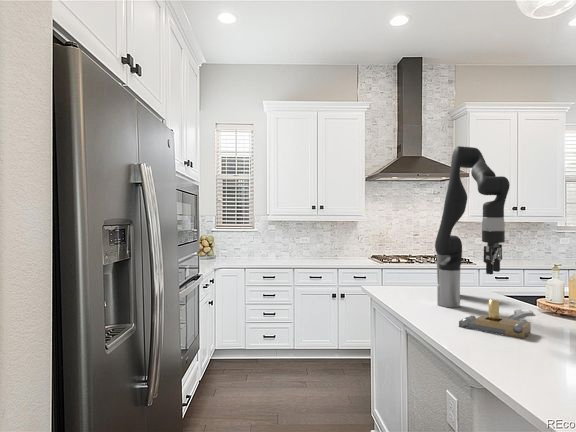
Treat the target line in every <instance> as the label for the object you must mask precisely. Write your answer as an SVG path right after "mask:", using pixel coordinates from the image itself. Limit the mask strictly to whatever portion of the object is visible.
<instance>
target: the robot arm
mask: <svg viewBox="0 0 576 432" xmlns="http://www.w3.org/2000/svg"><path fill="white" fill-rule="evenodd" d="M461 168H465V169H471V170H470V171H471V172H470V173H471V177H472V178H473V180H474V181H475V182H476V184H477V185H476V186H477V192H478V194H480V195H483V196H495V198H494V200H490V201H486V202H484V203H483V204H482V223H481V241H482V242H483V243H487V245H484V246H483V263H485V273H486V275H494V272H497V273H499V272H501V262H502V260H503V244H504V243H505V240H506V235H505V234H506V233H505V232H506V230H505V227H506V223H505V204H506V200H507V196H508V194H509V190H510V185H511V184H510V180H509V179H508V178H507V177H506V176H501V175H500V176H498V175H496V173H495V171H494V170H492V169H491V168H490V166H489V165H488V164H487V163H486V159H485V158H484V155H483V153H482V151H481V150H480V149H478V148H477V147H472V146H460V145H459V146H455V148H454V149H453V151H452V155H451V162H450V171H449V172H450V173H449V179H448V185H447V191H446V195H445V199H444V204H443V211H442V216H441V221H440V225H439V228H438V231H437V234H436V239H435V242H434V248H435V249H434V250H435V252H436V254H437V253H438V254H439V255H447V258H446V259H445V260H444V261H443V262H441V263H440V264H439V285H438V284H437V287H436V288H437V290H436V291H437V301H436V302H437V303H436V304H437V305H438V306H441V307H444V308H459V307H461V265H462V261H463V260H462V259H463V258H462V257H463V242H462V241H461V240H462V239H461V238H460V237H459V236H457V235H453V236H450V235H452V231H453V229H454V227H455V225H456V224H457V223H458V222H459V220H460V219H461V218H462V217H463V215H464V214H465V211H466V208H467V203H468V194H467V192H466V189H465V186H464V185H463V182H462V178H461V176H460V175H461Z"/></svg>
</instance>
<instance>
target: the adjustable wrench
mask: <svg viewBox="0 0 576 432" xmlns="http://www.w3.org/2000/svg"><path fill="white" fill-rule="evenodd" d="M530 315H531V316H534V311H532V310H527V311H525V310H524V311H523V310H522V308H519V309H515V310H513V314H511V315H509V316H507V317H505V318H508V319H514V320H519V319H520V318H523V317H528V316H530ZM522 316H523V317H522Z"/></svg>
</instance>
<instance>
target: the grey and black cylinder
mask: <svg viewBox="0 0 576 432" xmlns="http://www.w3.org/2000/svg"><path fill="white" fill-rule="evenodd" d="M450 236H454V235H452V234H451V235H450ZM446 258H447V255H439V254H438V253H437V252H436V275H437V276H436V277H437V279H436V280H437V285H439V264H440V263H441V262H443V261H444V260H445V259H446Z"/></svg>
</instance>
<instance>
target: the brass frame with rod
mask: <svg viewBox="0 0 576 432" xmlns="http://www.w3.org/2000/svg"><path fill="white" fill-rule="evenodd" d="M458 327H459V328H460V327H461V328H464V329H465V328H466V329H471V330H475V329H476V330H477V331H480V330H482V331H481V332H485V331H487V332H486V333H491V332H492V333H491V334H496V333H497V335H501V334H503V335H502V336H506V335H507V336H508V337H511V336H512V337H513V338H518V339H524V340H525V339H526V338H527V337H528V336H529V335H531V332H532V331H531V328H532V327H531V322H530V321H528V320H527V319H522V320H519V319H516V320H514V319H508V318H506V317H501V316H499V322H498V321H492V320H489V314H481V315H480V316H478V317H476V316H475V315H470V316H466V317H465V318H464V317H463V319H460V320H459V321H458ZM507 336H506V337H507Z"/></svg>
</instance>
